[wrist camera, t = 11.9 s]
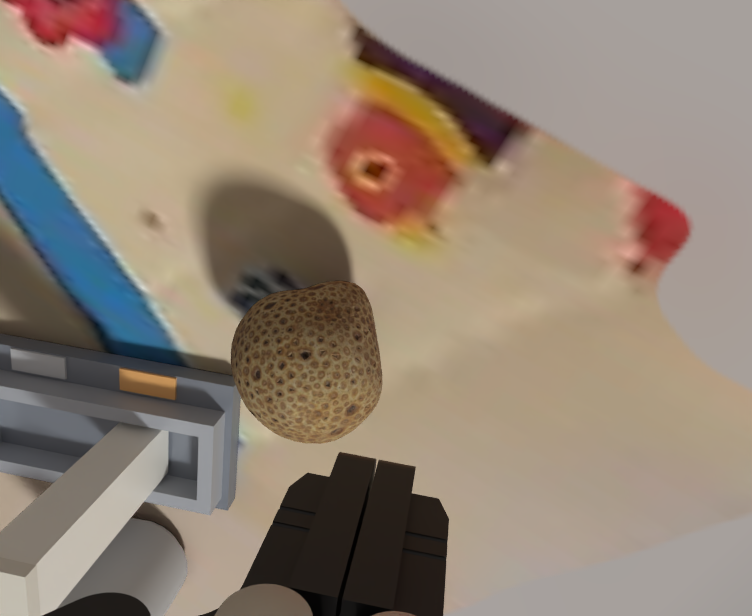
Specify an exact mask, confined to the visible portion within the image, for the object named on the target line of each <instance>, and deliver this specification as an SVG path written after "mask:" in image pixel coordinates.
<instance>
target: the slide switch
mask: <svg viewBox="0 0 752 616" xmlns="http://www.w3.org/2000/svg"><path fill="white" fill-rule="evenodd" d="M240 397H241V396H240V394H239V392H238V389H237V387H236V384H235V381H234V378H233V376H231V375H225V374H220V373H214V372H209V371H203V370H198V369H192V368H187V367H181V366H176V365H170V364H165V363H159V362H154V361H148V360H143V359H137V358H132V357H126V356H121V355H115V354H110V353H105V352H99V351H94V350H88V349H83V348H77V347H72V346H66V345H61V344H55V343H50V342H44V341H39V340H33V339H28V338H22V337H17V336H11V335H6V334H0V472H3V473H8V474H13V475H18V476H22V477H27V478H32V479H37V480H42V481H47V482H51V483H54V482H55V481H56V480H57V479H58V478H60V477H61V476H62V475H63V474H64V473H65V472H66V471H67V470H68V469H69V468H70V467H72V466H73V465H74V464H75V463H76V462H77V461H78V460H79V459H80V458H81V457H82V456H84V455H85V454H86V453H87V452H88V451H89V450H90V449H91V448H92V447H93V446H94V445H95V444H97V443H98V442H99V441H100V440H101V439H102V438H103V437H104V436H105V435H106V434H107V433H109V432H110V431H111V430H112V429H113V428H114V427H115V426H116V425H117V424H118V423H119V422H123V423H128V424H133V425H139V426H144V427H149V428H154V429H159V430H164V431H169V437H168V473H167V474H166V475H165V476H164V478H163V479H162V480H161V481H160V483H159V484H158V485H157V486H156V488H155V489H154V490H153V491H152V492H151V494H150V495H149V496H148V497H147V499H146V500H145V501H144V502H148V503H153V504H158V505H163V506H168V507H173V508H178V509H182V510H187V511H192V512H197V513H202V514H207V515H211V513H212V512H213V510H214V509H215V508H218V509H223V510H228V509H229V507H230V506H231V504H232V502H233V501H234V499H235V490H236V472H237V453H238V434H239V416H240Z"/></svg>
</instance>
